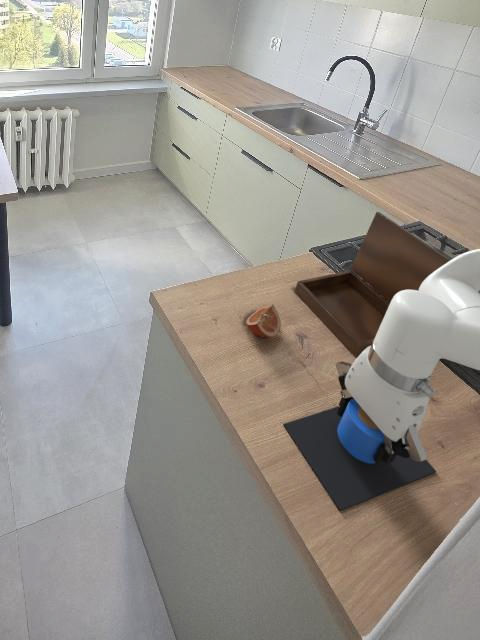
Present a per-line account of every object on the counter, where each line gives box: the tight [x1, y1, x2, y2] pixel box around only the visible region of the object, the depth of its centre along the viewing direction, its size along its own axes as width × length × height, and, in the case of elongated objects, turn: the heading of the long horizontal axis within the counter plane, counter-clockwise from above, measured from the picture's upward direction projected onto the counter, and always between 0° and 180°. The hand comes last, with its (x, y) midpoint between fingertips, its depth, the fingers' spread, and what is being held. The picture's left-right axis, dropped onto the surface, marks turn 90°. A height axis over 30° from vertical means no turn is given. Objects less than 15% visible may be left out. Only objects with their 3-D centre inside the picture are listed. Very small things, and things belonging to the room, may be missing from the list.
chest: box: [294, 269, 390, 359], centre depth 97 cm, size 17×19×4 cm
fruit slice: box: [245, 303, 282, 338], centre depth 93 cm, size 8×7×5 cm
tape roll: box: [337, 398, 385, 463], centre depth 70 cm, size 7×7×6 cm
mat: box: [283, 406, 438, 512], centre depth 72 cm, size 20×13×1 cm, turn 106°
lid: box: [350, 211, 452, 303], centre depth 96 cm, size 17×19×5 cm
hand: (362, 434), depth 71 cm, fingers closed on tape roll, 6 cm apart
